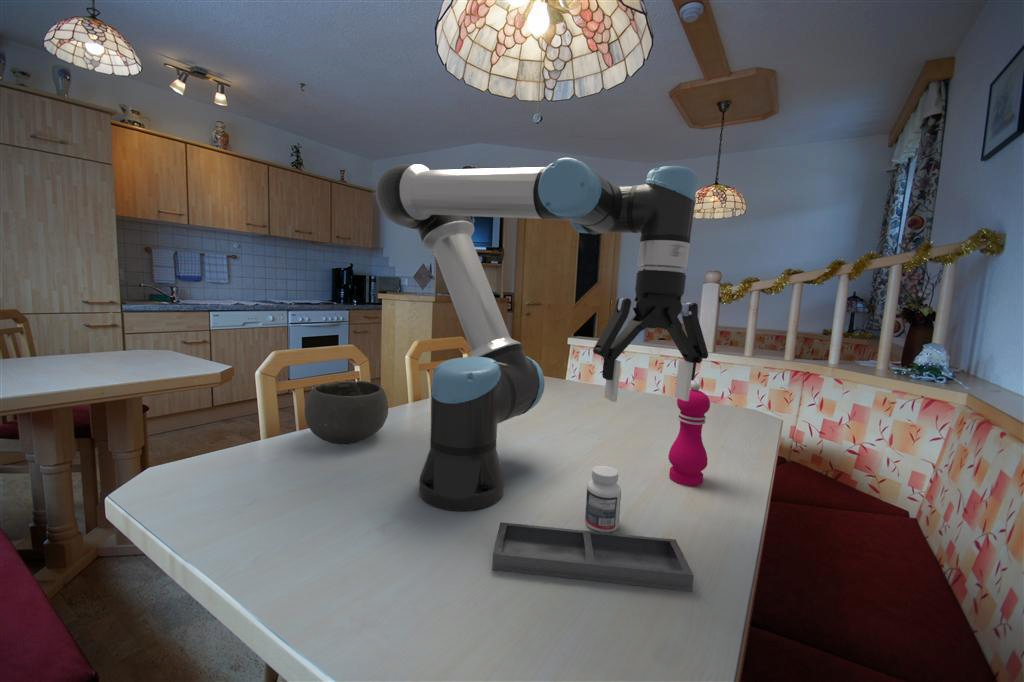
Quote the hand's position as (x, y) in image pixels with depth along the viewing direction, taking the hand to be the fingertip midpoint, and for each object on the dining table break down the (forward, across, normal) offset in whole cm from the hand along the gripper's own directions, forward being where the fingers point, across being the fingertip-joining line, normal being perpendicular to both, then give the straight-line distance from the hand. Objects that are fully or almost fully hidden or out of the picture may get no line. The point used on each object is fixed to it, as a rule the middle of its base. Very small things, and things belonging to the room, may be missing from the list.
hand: (646, 399), depth 70 cm
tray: (+19, -15, -12) cm, 27 cm away
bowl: (+21, -50, +40) cm, 68 cm away
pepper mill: (+19, +17, +8) cm, 27 cm away
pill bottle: (+19, -8, -4) cm, 21 cm away
